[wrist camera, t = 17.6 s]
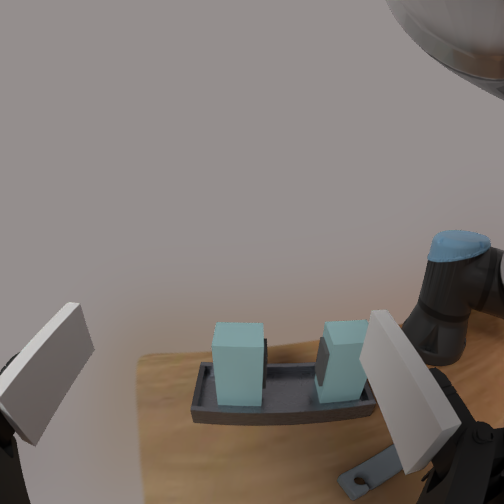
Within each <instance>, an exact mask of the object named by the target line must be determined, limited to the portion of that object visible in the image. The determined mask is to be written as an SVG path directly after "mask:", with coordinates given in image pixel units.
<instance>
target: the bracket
mask: <svg viewBox="0 0 504 504" xmlns="http://www.w3.org/2000/svg"><path fill="white" fill-rule="evenodd" d="M402 469H403V467H402V464H401V461H400V458H399V456H398V453H397V450H396V448H395V445H394V444H393V445H391V446H390V447H388V448H387V449H385V450H383V451H382V452H380V453H379V454H377V455H375V456H374V457H372V458H370V459H369V460H367V461H365V462H363V463H362V464H360V465H358V466H356V467H354V468H353V469H351V470H349V471H347V472H345V473H343V474H341V475H340V476H339V477H338V479H337V482H338V483H339V484H340V486H341V487H342V488H343V490H344V491H345V492H346V494H347V495H348V496H349V498H350V499H351V500H353V501H354V500H355V499H357V498H359V497H361V496H362V495H364V494H366V493H367V492H368V491H369V489H370V490H372V489H374V488H376V487H377V486H379V485H380V484H382V483H383V482H385V481H386V480H388V479H389V478H391V477H392V476H394V475H395V474H397V473H398V472H400V471H401V470H402ZM357 477H360V478H363V479H364V481H365V484H364V485H358V484H356V483H355V482H354V478H357Z"/></svg>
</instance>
